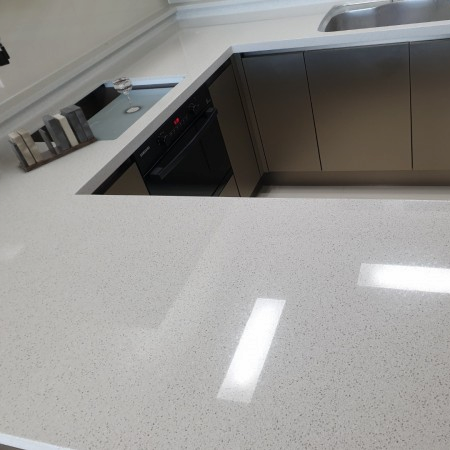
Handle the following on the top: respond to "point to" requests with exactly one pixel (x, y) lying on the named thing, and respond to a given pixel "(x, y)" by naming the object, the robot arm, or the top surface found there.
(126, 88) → the wineglass
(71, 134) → the cream book
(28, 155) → the book shelf
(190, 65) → the top surface
